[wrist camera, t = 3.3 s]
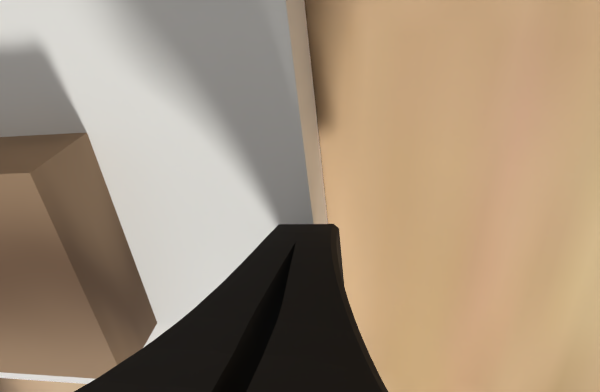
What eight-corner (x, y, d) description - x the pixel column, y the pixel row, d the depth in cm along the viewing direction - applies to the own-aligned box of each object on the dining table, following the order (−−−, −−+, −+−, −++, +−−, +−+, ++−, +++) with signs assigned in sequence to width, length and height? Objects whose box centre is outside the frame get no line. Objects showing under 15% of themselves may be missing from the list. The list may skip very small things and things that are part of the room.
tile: (157, 323, 14) (124, 380, 12) (-16, 316, 15) (-69, 367, 13) (87, 132, 11) (29, 172, 9) (-122, 143, 12) (-208, 181, 10)
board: (341, 348, 16) (335, 401, 14) (-29, 331, 19) (-71, 372, 17) (299, -47, 10) (280, -40, 8) (-231, 20, 13) (-325, 36, 11)
